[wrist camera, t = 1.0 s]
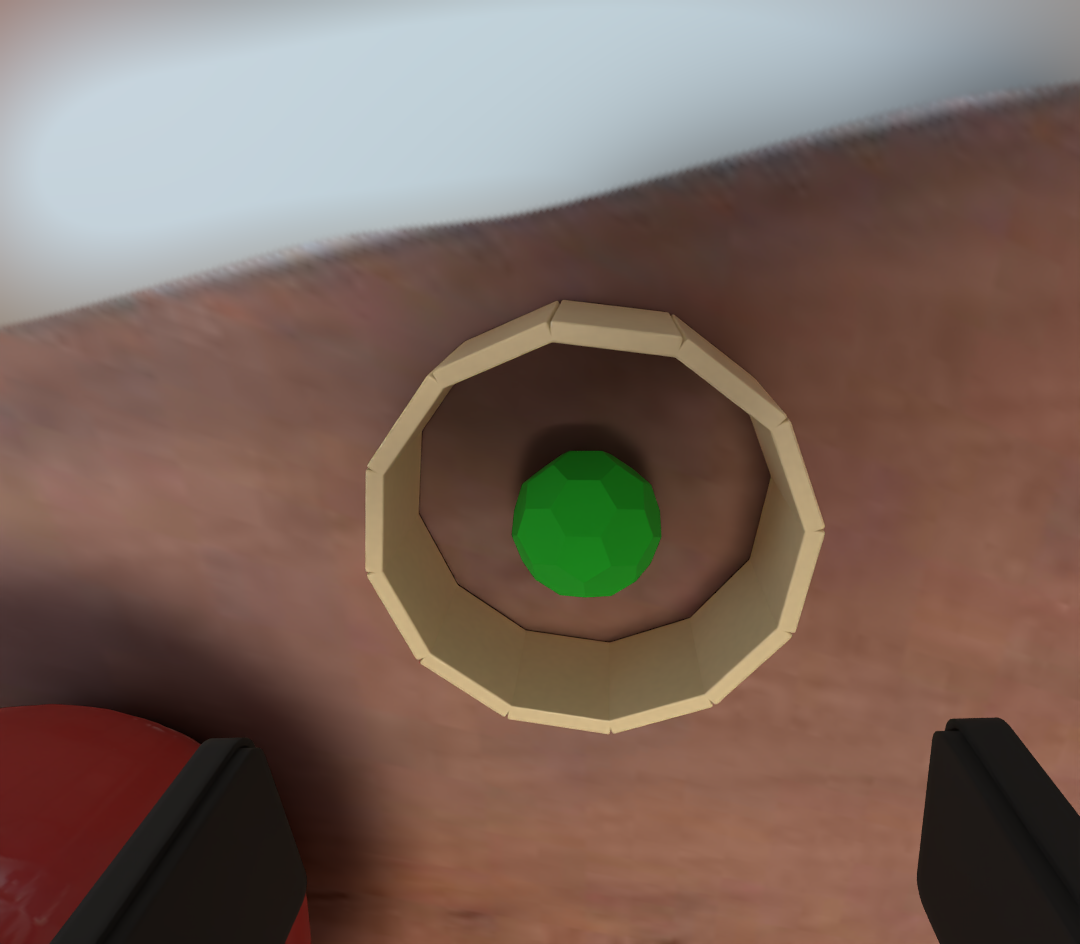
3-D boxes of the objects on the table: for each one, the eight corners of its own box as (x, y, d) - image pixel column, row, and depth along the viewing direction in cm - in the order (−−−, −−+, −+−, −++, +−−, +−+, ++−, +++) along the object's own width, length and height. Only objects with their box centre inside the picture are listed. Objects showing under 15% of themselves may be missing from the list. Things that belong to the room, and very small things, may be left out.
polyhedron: (629, 569, 26) (633, 644, 21) (507, 533, 26) (486, 600, 21) (674, 454, 24) (689, 510, 19) (543, 414, 24) (527, 462, 19)
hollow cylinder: (547, 215, 21) (533, 217, 17) (866, 465, 23) (922, 521, 19) (340, 521, 26) (289, 580, 22) (618, 705, 28) (619, 792, 24)
